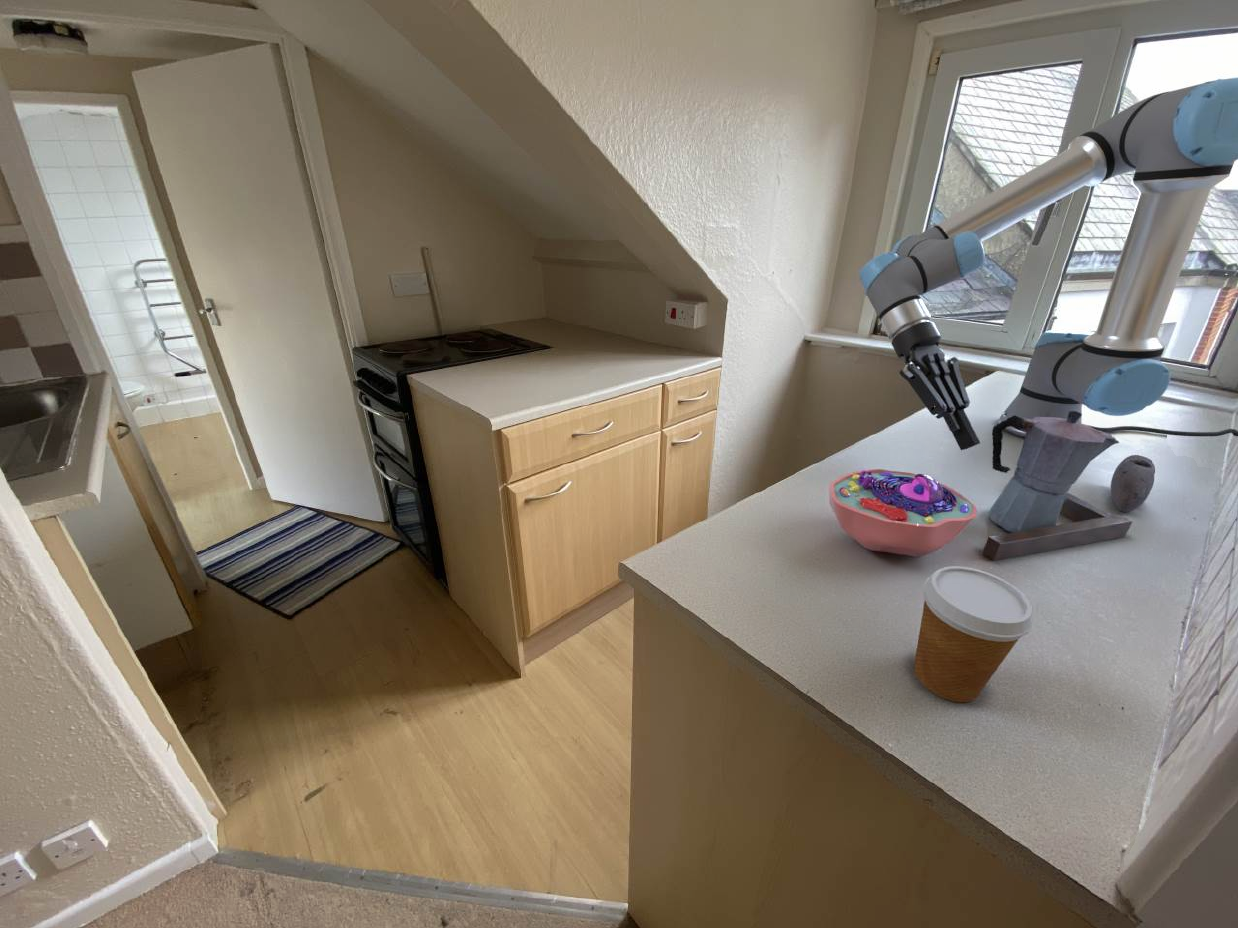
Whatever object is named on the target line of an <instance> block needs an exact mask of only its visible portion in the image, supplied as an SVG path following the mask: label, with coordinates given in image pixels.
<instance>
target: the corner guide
mask: <svg viewBox="0 0 1238 928" xmlns="http://www.w3.org/2000/svg"><path fill="white" fill-rule="evenodd" d="M1066 496H1067V497H1068V499H1067V501H1064V503H1063V505H1062V508H1061V511H1060V514H1061V515H1063V516H1065V517H1066V518H1069V519H1070V520H1072V521H1074V522H1067V523H1061V524H1056V525H1055V526H1049V527H1043V528H1037V529H1031V530H1025V531H1019V532H1013V533H1012V532H1008V533H1003V534H996V535H990V536H988V537H987V539H986V542H985V544H984V547H983V550H982V553H981V554H983V555H984V556H985V557H987V558H989V559H990V560H992V561H993V562H994V561H999V560H1000V561H1001V560H1006V559H1013V558H1017V557H1021V556H1028V555H1033V554H1040V553H1045V552H1049V551H1055V550H1060V549H1067V548H1072V547H1077V546H1083V545H1089V544H1094V543H1100V542H1104V541H1105V542H1106V541H1111V540H1116V539H1121V538H1125V537H1126V535H1127V533H1128V532H1129V529H1130V528H1131V526H1132V524H1133V520H1132V519H1130V518H1127V517H1125V516H1124V515H1121V514H1115V515H1114V514H1112V513H1110V512H1108V511H1106V510H1104V509H1102V508H1101V507H1098V506H1097V505H1094V504H1092V503H1090V502H1088V501H1086V500H1084V499H1083V498H1080V497H1077V496H1075V495H1073V494H1072V493H1069V492H1066Z"/></svg>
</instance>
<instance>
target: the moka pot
mask: <svg viewBox="0 0 1238 928" xmlns="http://www.w3.org/2000/svg"><path fill="white" fill-rule="evenodd" d="M1081 416H1083V413H1082V414H1081V413H1079V412H1077V411H1069V414H1068V418H1067V420H1066V419H1062V418H1053V417H1035V418H1034V419H1028V418H1020V417H1018V416H1015V415H1013V416H1012V417H1010V418H1008V419H1007V420H1006V421H1002V422H1001V423H1000V424H996V425H994V426H993V427H992V430H991V435H992V443H991V444H992V453H991V454H992V457H991V458H992V459H991V460H992V461H991V462H992V470H994V471H998V472H1000V473H1003V474H1004V473H1005V474H1008V473H1009V472H1010V471H1011V470H1012V469H1011V468H1010V467H1009V466H1004V465H1003V464H1002V460H1001V455H1002V449H1003V447H1002V445H1003V437H1004V434H1003V431H1005V430H1004V429H1005V428H1007V427H1010V426H1012V427H1014V428H1015V429H1017V430H1020V431H1025V432H1026V436H1025V438H1023V442H1022V448H1021V450H1020V453H1019V457H1018V460H1017V462H1016V468H1015V470H1014V473H1013V476H1012V477H1011V478H1010V480H1009V481H1008V483H1007V484H1006V485H1005V487H1004V489H1002V491H1001V493H1000V495H999V496H998V497H997V499H996V500H995V502H994V503H993V504H992V506H991V507H990V510H989V512H988V515H987V517H988V518H989V520H991V522H993V523H994V524H995V525H997V526H998V527H1001V528H1002V529H1003V530H1005V531H1007V532H1008V533H1013V532H1019V531H1025V530H1031V529H1037V528H1043V527H1049V526H1055V525H1057V523H1058V520H1059V516H1060V514H1061V513H1060V511H1061V508H1062V505H1063V503H1064V501H1067V499H1068V497H1067V496H1066V492H1067V493H1069V491H1070V489H1071V488H1072V486H1073V485H1074V484H1075V483H1076V482H1077V481H1078V479H1079V478H1080V477H1081V475H1082V474H1083V472H1084V471H1085V470H1086V468H1087V467H1088V465H1089V464H1090V463H1091V462H1092V460H1094V459H1096V458H1097V457H1098V456H1100V455H1101V454H1102V453H1103V452H1105V451H1106V450H1108V449H1109V448H1110V447H1112V446H1113V445H1114V446H1115V445H1116V444H1120V441H1119V440H1117V438H1116V437H1115V436H1113V435H1112V434H1110V433H1109V432H1102V431H1098V430H1095V429H1094V428H1092V427H1090V426H1091V425H1089V426H1088V424H1085V423H1077V421H1078V420H1079V418H1080V417H1081Z"/></svg>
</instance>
